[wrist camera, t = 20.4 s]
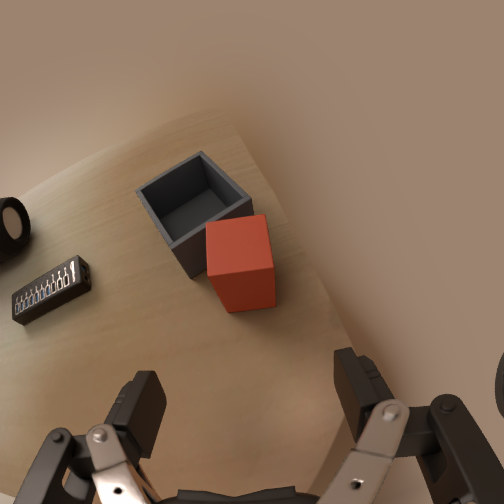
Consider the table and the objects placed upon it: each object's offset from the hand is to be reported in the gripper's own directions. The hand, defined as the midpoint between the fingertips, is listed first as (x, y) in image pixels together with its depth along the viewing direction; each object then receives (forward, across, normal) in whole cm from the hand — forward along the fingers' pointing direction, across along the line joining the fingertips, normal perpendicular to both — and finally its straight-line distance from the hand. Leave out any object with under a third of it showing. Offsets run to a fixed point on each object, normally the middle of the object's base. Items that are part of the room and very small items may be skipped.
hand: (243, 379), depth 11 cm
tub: (+24, +5, -3) cm, 25 cm away
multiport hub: (+20, +28, +2) cm, 34 cm away
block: (+18, 0, +3) cm, 19 cm away
